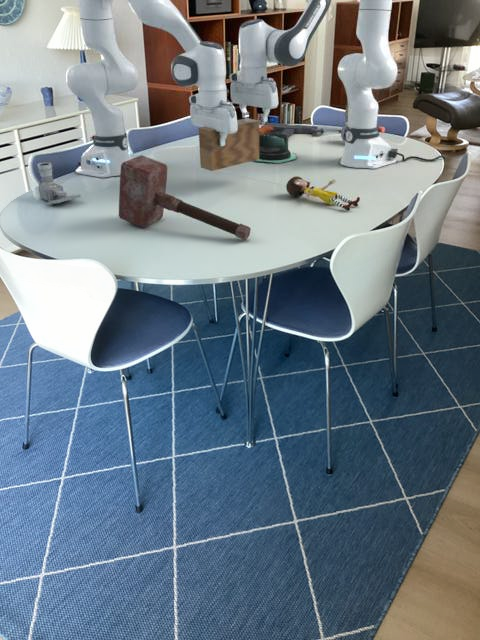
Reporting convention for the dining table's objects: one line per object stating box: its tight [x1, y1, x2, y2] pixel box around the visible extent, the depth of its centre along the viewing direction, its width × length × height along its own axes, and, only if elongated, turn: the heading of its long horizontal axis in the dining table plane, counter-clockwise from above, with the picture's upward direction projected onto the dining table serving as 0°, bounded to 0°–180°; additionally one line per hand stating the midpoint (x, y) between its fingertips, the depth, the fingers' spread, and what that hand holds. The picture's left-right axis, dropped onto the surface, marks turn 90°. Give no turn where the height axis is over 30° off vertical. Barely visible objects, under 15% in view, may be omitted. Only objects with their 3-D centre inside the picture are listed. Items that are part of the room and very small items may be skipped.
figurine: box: [285, 176, 361, 211], centre depth 178 cm, size 13×8×25 cm
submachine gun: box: [259, 122, 325, 138], centre depth 263 cm, size 32×3×25 cm
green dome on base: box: [254, 132, 297, 164], centre depth 229 cm, size 15×19×20 cm
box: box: [198, 117, 260, 172], centre depth 187 cm, size 21×6×13 cm, turn 131°
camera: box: [37, 161, 82, 205], centre depth 182 cm, size 9×12×15 cm
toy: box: [338, 121, 347, 142], centre depth 244 cm, size 9×9×15 cm
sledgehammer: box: [118, 154, 252, 241], centre depth 157 cm, size 17×10×40 cm
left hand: (214, 143), depth 183 cm, fingers closed on box, 6 cm apart
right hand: (254, 119), depth 189 cm, fingers open, 8 cm apart
